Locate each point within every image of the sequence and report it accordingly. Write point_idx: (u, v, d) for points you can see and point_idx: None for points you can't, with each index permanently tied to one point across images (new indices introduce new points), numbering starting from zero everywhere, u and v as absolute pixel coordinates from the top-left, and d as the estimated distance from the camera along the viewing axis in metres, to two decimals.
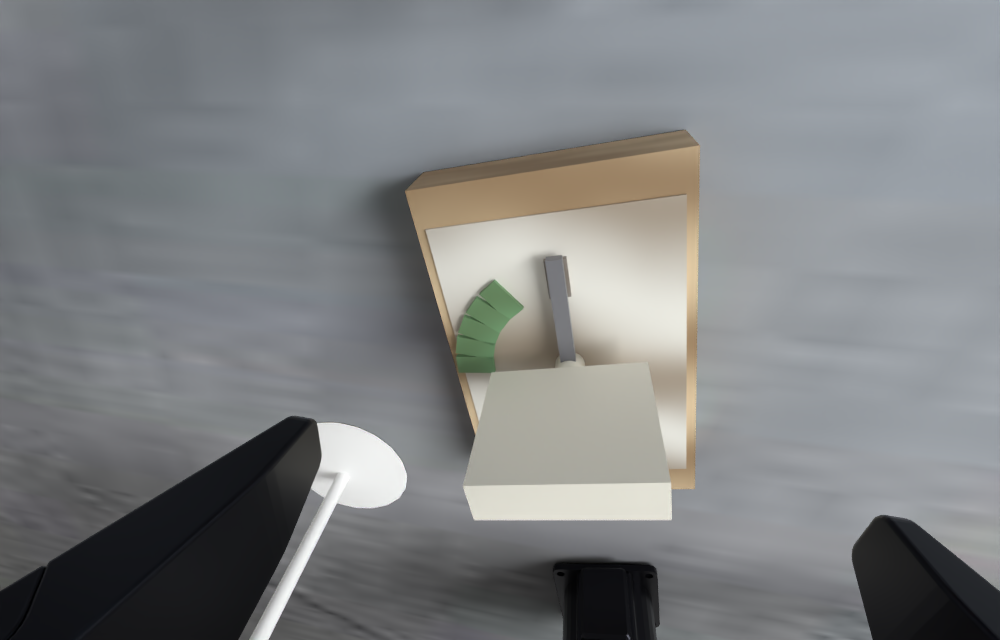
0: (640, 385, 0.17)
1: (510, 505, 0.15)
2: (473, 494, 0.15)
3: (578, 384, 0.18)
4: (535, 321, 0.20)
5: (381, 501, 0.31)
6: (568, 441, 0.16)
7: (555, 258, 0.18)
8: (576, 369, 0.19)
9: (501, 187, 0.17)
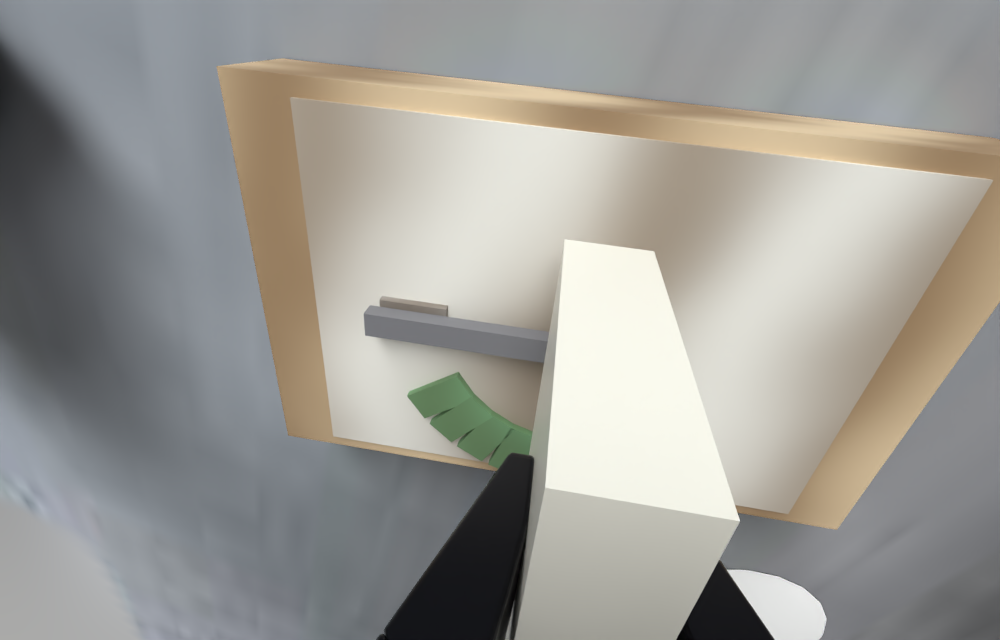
0: (558, 293, 0.08)
1: None
2: None
3: (542, 386, 0.09)
4: (490, 363, 0.12)
5: (816, 621, 0.20)
6: None
7: (366, 320, 0.11)
8: (544, 362, 0.10)
9: (283, 342, 0.13)
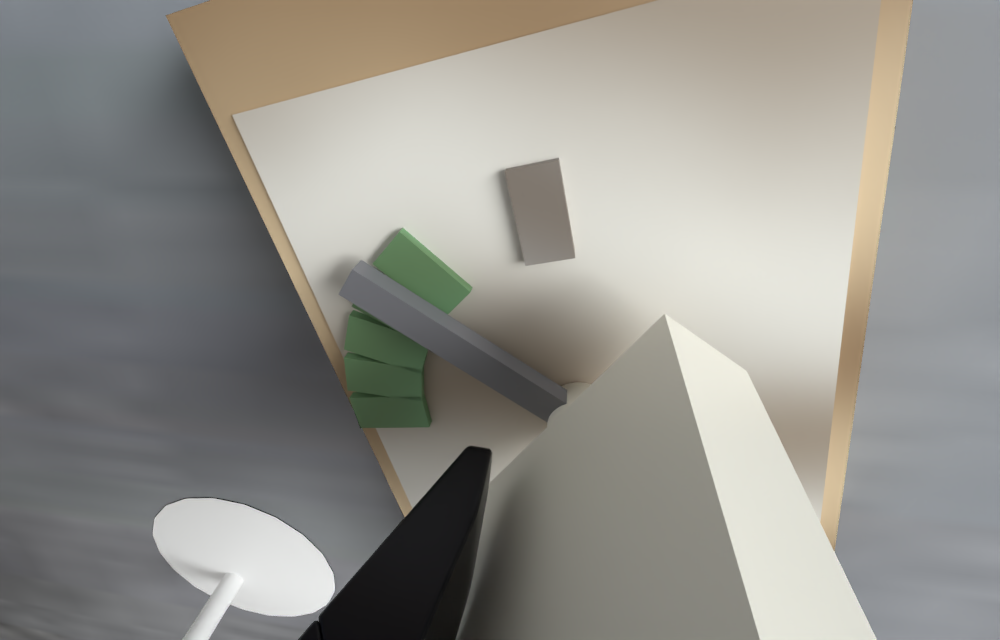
0: (657, 388, 0.06)
1: None
2: None
3: (554, 465, 0.07)
4: (502, 318, 0.09)
5: (304, 608, 0.21)
6: None
7: (349, 276, 0.08)
8: (553, 427, 0.08)
9: None
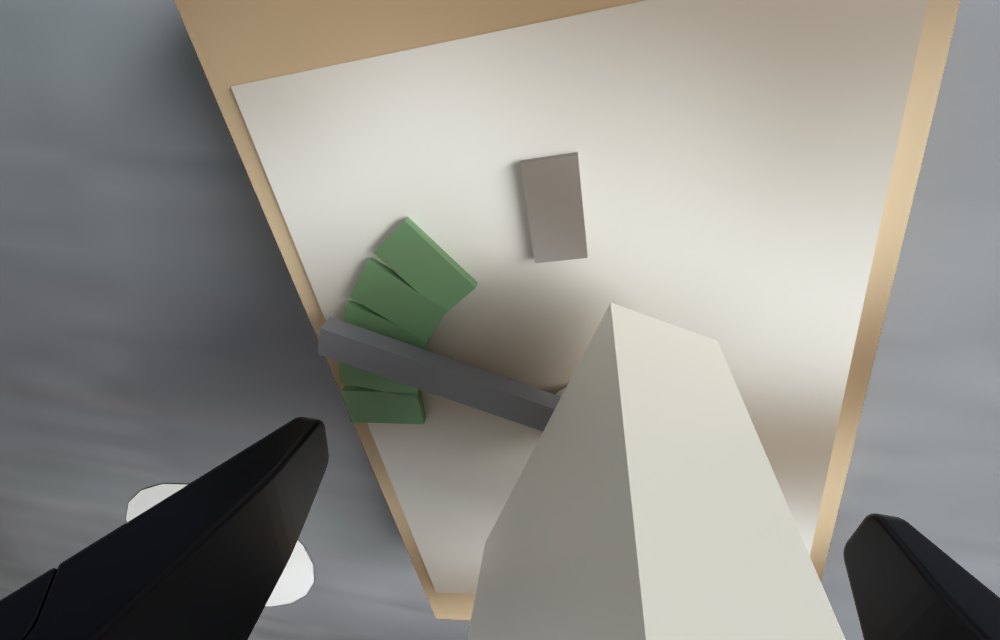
0: (601, 383, 0.06)
1: None
2: None
3: (540, 479, 0.07)
4: (506, 316, 0.09)
5: (281, 599, 0.20)
6: None
7: (322, 334, 0.09)
8: (542, 438, 0.08)
9: None
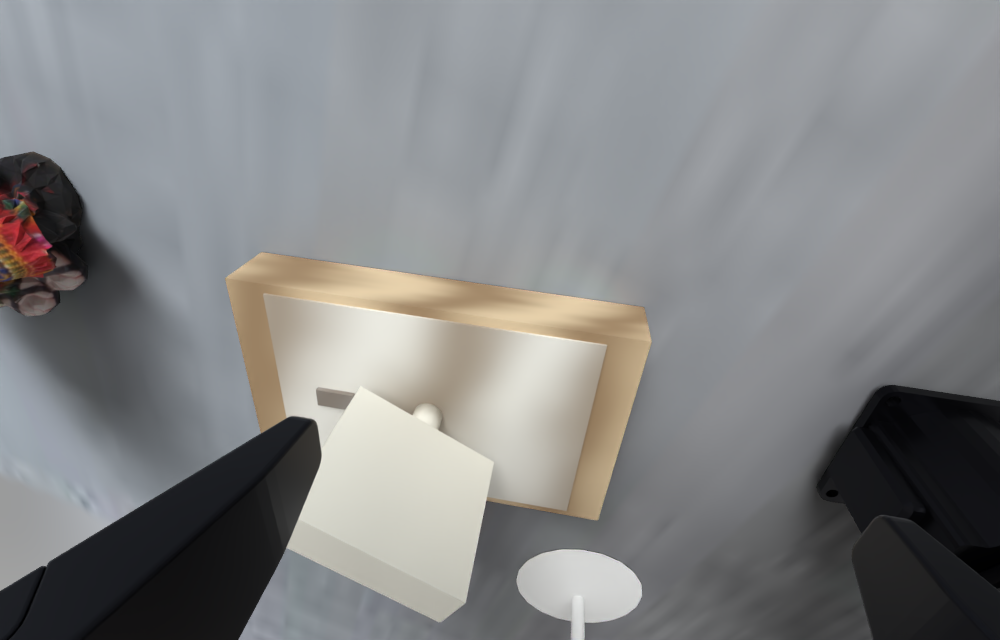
0: None
1: (417, 593, 0.15)
2: (439, 614, 0.15)
3: None
4: None
5: (635, 586, 0.29)
6: None
7: None
8: None
9: (263, 409, 0.22)
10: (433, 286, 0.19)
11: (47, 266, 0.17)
